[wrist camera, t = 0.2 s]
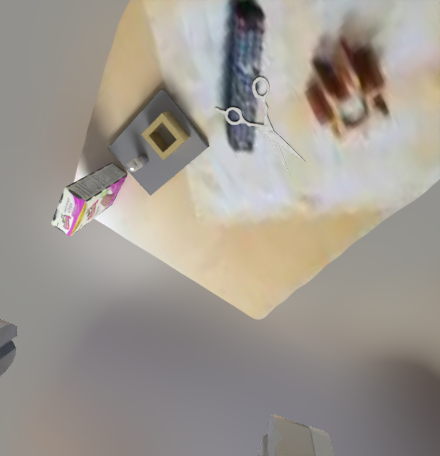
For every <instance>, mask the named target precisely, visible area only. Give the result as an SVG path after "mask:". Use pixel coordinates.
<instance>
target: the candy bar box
mask: <svg viewBox="0 0 440 456" xmlns="http://www.w3.org/2000/svg"><path fill="white" fill-rule="evenodd" d="M126 177H127V174H126V173H125V172H124V171H122V170H121V169H120V168H118V167H117V166H116V165H114V164H113V163H110V164H109V165H107V166H105V167H103V168H101V169H99V170H97V171H95V172H93V173H91V174H89V175H87V176H86V177H84V178H82V179H80V180H78V181H76V182H74V183H72V184H71V185H69V186H66V187H65V189H64V191H63V194H62V196H61V199H60V201H59V204H58V207H57V209H56V212H55V215H54V217H53V220H52V223H51V224H52V225H53V226H55V227H57V228H58V229H59V230H61V231H63V232H64V233H65V234H66V235H68V236H72V235H73V234H74V233H76V232H77V231H78V230H79V229H80V228H82V227H83V226H85V225H86V224H87V223H88V222H90V221H91V220H92V219H94V218H95V217H96V216H98V215H99V214H100V213H101V212H103V211H104V210H105V209H107V208H108V207H109V206H111V205H112V203H113V201H114V200H115V198H116V196H117V194H118V192H119V190H120V188H121V186H122V184H123V182H124V180H125V178H126Z"/></svg>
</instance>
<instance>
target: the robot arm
mask: <svg viewBox="0 0 440 456" xmlns="http://www.w3.org/2000/svg"><path fill="white" fill-rule="evenodd" d="M16 336H17V326H15V325H14V324H12V323H9V322H6V321H4V320H1V319H0V376H1V375H2V374H3V373H4V372H5V371H6V370H7V369H8V367H9V366H10V365H11V364H12V362H13V359H14V357H15V354H16V347H15V345H14V343H13V341H12V340H13V339H14V338H15V337H16ZM258 456H334V453H333V449H332V445H331V441H330V437H329V435H328V434H327V432H325V431H322V430H319V429H316V428H313V427H310V426H306V425H304V424H301V423H298V422H295V421H292V420H289V419H286V418H283V417H280V416H277V415H274V414H272V416H271V417H270V419H269V422H268V434H266V435H265V436H263V438H262V441H261V444H260V448H259V453H258Z"/></svg>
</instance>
